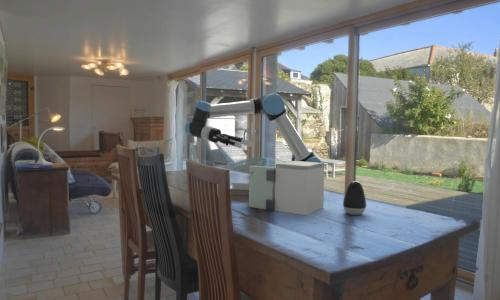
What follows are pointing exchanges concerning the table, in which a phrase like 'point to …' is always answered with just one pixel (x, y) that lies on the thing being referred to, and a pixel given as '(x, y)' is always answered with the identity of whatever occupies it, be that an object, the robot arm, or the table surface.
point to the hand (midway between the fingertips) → (246, 145)
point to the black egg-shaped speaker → (354, 199)
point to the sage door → (260, 187)
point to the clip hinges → (269, 203)
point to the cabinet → (299, 187)
